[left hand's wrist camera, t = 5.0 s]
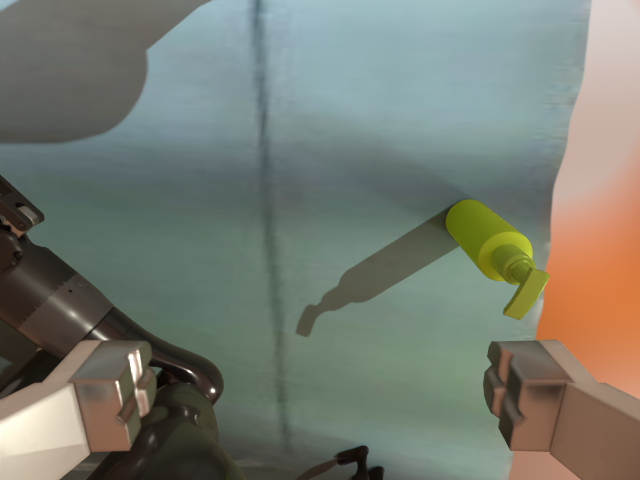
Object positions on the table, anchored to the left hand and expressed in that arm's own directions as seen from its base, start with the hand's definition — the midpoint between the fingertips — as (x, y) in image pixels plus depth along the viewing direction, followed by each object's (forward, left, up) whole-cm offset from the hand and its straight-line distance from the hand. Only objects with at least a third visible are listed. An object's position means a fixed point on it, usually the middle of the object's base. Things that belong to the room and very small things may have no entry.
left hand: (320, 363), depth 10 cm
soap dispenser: (+12, +20, -48) cm, 53 cm away
